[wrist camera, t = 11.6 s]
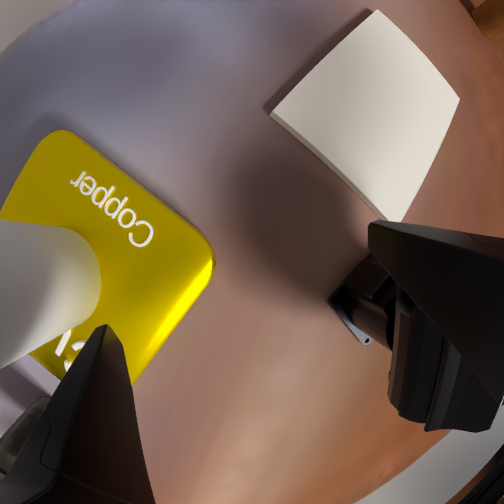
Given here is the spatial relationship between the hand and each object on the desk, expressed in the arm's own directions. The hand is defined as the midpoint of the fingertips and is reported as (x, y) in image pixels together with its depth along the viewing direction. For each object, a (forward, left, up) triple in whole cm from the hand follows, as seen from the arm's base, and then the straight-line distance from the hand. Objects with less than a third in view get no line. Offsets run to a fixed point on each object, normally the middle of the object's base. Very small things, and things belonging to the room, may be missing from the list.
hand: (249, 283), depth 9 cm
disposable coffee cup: (0, -62, -12) cm, 64 cm away
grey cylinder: (+6, +8, -7) cm, 13 cm away
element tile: (+6, +9, -13) cm, 16 cm away
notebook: (0, -20, -12) cm, 24 cm away
